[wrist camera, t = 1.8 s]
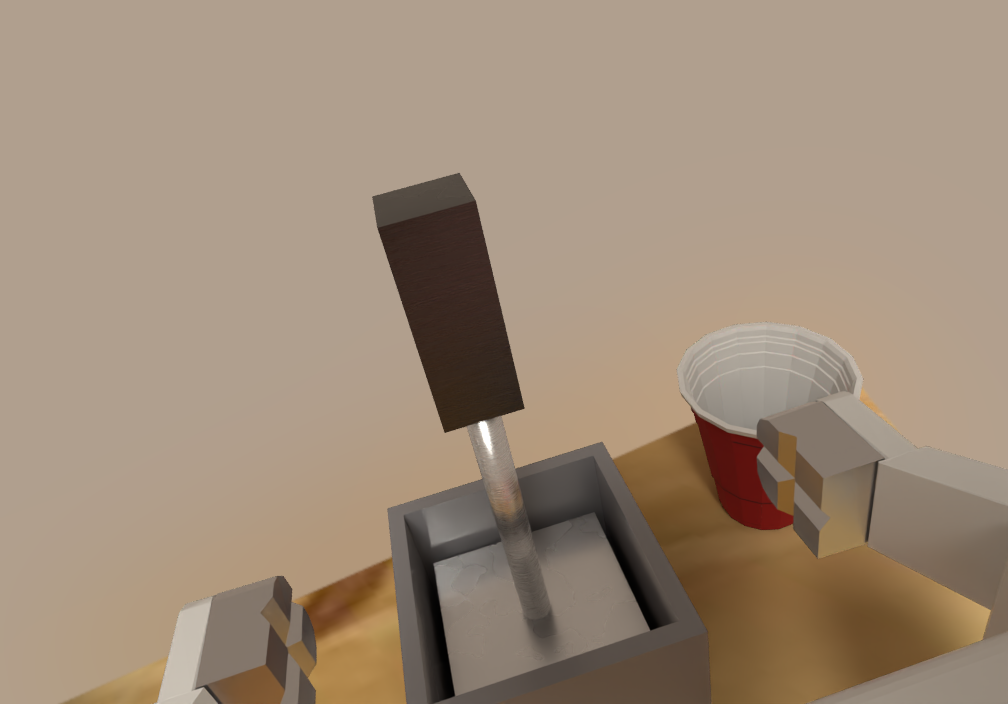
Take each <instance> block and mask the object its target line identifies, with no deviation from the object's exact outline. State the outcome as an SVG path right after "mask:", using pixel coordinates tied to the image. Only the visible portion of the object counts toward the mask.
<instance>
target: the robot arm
mask: <svg viewBox="0 0 1008 704" xmlns="http://www.w3.org/2000/svg"><path fill="white" fill-rule="evenodd" d="M757 438H758V440H759V441H760V442H761V443H762V444H763V445H764V447H763V448H762V450H761V451H760V453H759V454H758V456H757V472H758V475H759V478H760V481H761V484H762V487H763V489H764V491H765V492H766V494H767V496H768V498H769V499H770V500H771V502H772V503H773V504H774V506H775V507H776V508H777V509H778V510H780V511H783V512H785V513H787V514H790V515H792V516H794V518H793V529H794V530H795V532H796V533H797V534H798V535H799V537H800V538H801V539H802V540H803V541H804V543H805V544H806V545H807V546H808V548H809V549H810V550H811V551H812V552H813V554H814V555H815V556H816V557H817V559H820V558H823V557H826V556H830V555H833V554H836V553H839V552H842V551H846V550H849V549H852V548H855V547H858V546H862V545H865V544H868V547H870V548H872V549H874V550H875V551H877V552H879V553H881V554H883V555H885V556H887V557H889V558H891V559H893V560H895V561H897V562H899V563H901V564H903V565H905V566H906V567H908V568H910V569H912V570H914V571H916V572H918V573H920V574H922V575H924V576H926V577H928V578H930V579H932V580H934V581H936V582H937V583H939V584H941V585H943V586H945V587H947V588H949V589H951V590H953V591H955V592H957V593H959V594H961V595H963V596H965V597H966V598H968V599H970V600H972V601H974V602H976V603H978V604H980V605H982V606H984V607H986V608H988V609H990V610H991V612H990V616H989V619H988V622H987V625H986V629H985V632H984V636H983V640H981V641H979V642H976V643H973V644H970V645H968V646H965V647H962V648H959V649H956V650H954V651H951V652H948V653H945V654H942V655H940V656H937V657H934V658H931V659H929V660H926V661H923V662H920V663H917V664H915V665H912V666H909V667H906V668H903V669H901V670H898V671H895V672H892V673H890V674H887V675H884V676H881V677H878V678H876V679H873V680H870V681H867V682H864V683H862V684H859V685H856V686H853V687H851V688H848V689H845V690H842V691H839V692H837V693H834V694H831V695H828V696H825V697H823V698H820V699H817V700H814V701H811V702H809V703H806V704H1008V470H1007V469H1004V468H1000V467H997V466H993V465H990V464H987V463H983V462H980V461H977V460H973V459H970V458H966V457H962V456H959V455H956V454H952V453H949V452H946V451H942V450H939V449H935V448H932V447H929V446H925V447H921V448H917V447H916V446H915V445H913V444H912V443H911V442H910V441H908V440H907V439H906V438H905V437H904V436H902V435H901V434H900V433H899V432H898V431H896V430H895V429H894V428H893V427H891V426H890V425H889V424H888V423H887V422H885V421H884V420H883V419H882V418H881V417H879V416H878V415H877V414H876V413H874V412H873V411H872V410H871V409H870V408H868V407H867V406H866V405H865V404H864V403H862V402H861V401H860V400H859V399H858V398H856V397H855V396H854V395H853V394H851V393H849V392H846V391H841V392H838V393H835V394H832V395H830V396H827V397H824V398H821V399H818V400H815V401H814V402H809V403H806V404H803V405H800V406H797V407H794V408H791V409H788V410H785V411H782V412H779V413H776V414H773V415H770V416H767V417H764V418H761V419H759V422H758V424H757ZM291 600H292V588H291V586H290V585H289V584H288V582H287V581H286V579H285V578H284V576H275V577H272V578H269V579H265V580H262V581H259V582H255V583H252V584H249V585H245V586H242V587H239V588H236V589H232V590H229V591H225V592H222V593H219V594H217V595H214V596H211V597H207V598H204V599H201V600H197V601H194V602H191V603H187V604H185V606H184V607H183V608H182V610H181V611H180V613H179V615H178V619H177V623H176V627H175V631H174V635H173V640H172V644H171V648H170V652H169V656H168V660H167V664H166V668H165V672H164V676H163V680H162V684H161V688H160V693H159V697H158V701H157V703H154V704H315V695H316V690H315V689H314V687H313V686H312V684H311V683H310V681H309V680H308V677H309V675H310V674H311V672H312V670H313V669H314V667H315V666H316V649H317V647H316V641H315V635H314V629H313V626H312V624H311V621H310V618H309V616H308V614H307V612H306V611H305V609H304V607H303V606H301V605H298V604H296V603H293V602H291Z"/></svg>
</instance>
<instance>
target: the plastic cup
mask: <svg viewBox="0 0 1008 704" xmlns="http://www.w3.org/2000/svg"><path fill="white" fill-rule="evenodd" d="M677 375H678V382H679V389H680V393H681V395H682V396H683V398H684V399H685V400H686V402H687V403H688V404H689V405H690V406H691V410H692V412H693V413H694V416H695V420H696V423H697V424H698V426H699V430H700V434H701V437H702V441H703V445H704V448H705V452H706V456H707V459H708V463H709V467H710V471H711V474H712V477H713V478H714V480H715V484H716V488H717V492H718V496H719V500H720V502H721V503H722V505H723V508H724V509H725V510H726V511H727V513H728V514H729V515H730V517H731V518H733V519H735V520H736V521H738V522H739V523H741V524H743V525H744V526H748V527H752V528H756V529H760V530H771V529H780V528H783V527H786V526H788V525H791V524H793V518H794V516H792V515H790V514H787V513H785V512H783V511H780V510H778V509H777V508H776V507H775V506H774V504H773V503H772V502H771V500H770V499H769V498H768V496H767V494H766V492H765V491H764V489H763V487H762V484H761V481H760V478H759V475H758V472H757V456H758V454H759V453H760V451H761V450H762V448H763V447H764V445H763V444H762V443H761V442H760V441H759V440H758V438H757V424H758V422H759V419H761V418H764V417H767V416H770V415H773V414H776V413H779V412H782V411H785V410H788V409H791V408H794V407H797V406H800V405H803V404H806V403H809V402H814V401H815V400H818V399H821V398H824V397H827V396H830V395H832V394H835V393H838V392H841V391H846V392H849V393H851V394H853V395H854V396H855V397H856V398H858V399H860V394H861V388H862V383H863V377H862V375H861V373H860V371H859V368H858V366H857V364H856V362H855V360H854V358H853V356H852V355H851V354H849V353H848V352H847V351H846V350H844V349H843V348H842V347H841V346H839V345H838V344H837V343H836V342H834V341H833V340H832V339H831V338H829V337H826V336H823V335H821V334H818V333H816V332H813V331H811V330H808V329H805V328H803V327H800V326H794V325H786V324H778V323H772V322H760V323H748V324H736V325H732V326H729V327H726V328H723V329H720V330H718V331H715V332H712V333H709V334H706V335H705V336H704V337H702V338H701V339H700V340H698V341H697V342H696V343H694V344H693V345H692V346H691V347H689V348H688V349H687V350H686V352H685V354H684V356H683V358H682V360H681V362H680V364H679V366H678V368H677Z"/></svg>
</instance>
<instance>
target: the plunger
mask: <svg viewBox="0 0 1008 704" xmlns="http://www.w3.org/2000/svg"><path fill="white" fill-rule="evenodd" d="M372 198H373V203H374V210H375V215H376V222H377V228H378V231H379V234H380V237H381V240H382V243H383V246H384V249H385V252H386V255H387V258H388V261H389V264H390V268H391V270H392V274H393V277H394V280H395V283H396V286H397V289H398V292H399V295H400V298H401V301H402V304H403V307H404V310H405V313H406V316H407V319H408V322H409V325H410V328H411V331H412V335H413V337H414V341H415V344H416V347H417V350H418V353H419V356H420V359H421V362H422V365H423V368H424V371H425V374H426V377H427V380H428V383H429V386H430V389H431V392H432V395H433V398H434V401H435V404H436V408H437V411H438V414H439V417H440V420H441V423H442V426H443V429H444V432H445V433H446V432H449V431H452V430H456V429H459V428H462V427H465V426H467V429H468V432H469V436H470V439H471V442H472V445H473V449H474V452H475V455H476V459H477V462H478V465H479V469H480V472H481V475H482V479H483V482H484V485H485V489H486V492H487V495H488V498H489V502H490V505H491V508H492V512H493V515H494V518H495V522H496V525H497V528H498V531H499V535H500V538H501V541H502V542H499V543H496V544H493V545H490V546H486V547H483V548H480V549H477V550H474V551H471V552H468V553H465V554H461V555H458V556H455V557H452V558H449V559H446V560H443V561H440V562H436V563H433V564H434V570H435V576H436V582H437V588H438V594H439V600H440V607H441V613H442V619H443V625H444V631H445V637H446V643H447V649H448V655H449V661H450V667H451V673H452V679H453V685H454V691H455V696H458V695H461V694H464V693H467V692H470V691H473V690H476V689H479V688H482V687H485V686H488V685H490V684H493V683H496V682H499V681H502V680H505V679H508V678H511V677H514V676H517V675H520V674H523V673H526V672H529V671H532V670H535V669H538V668H541V667H544V666H547V665H550V664H553V663H556V662H559V661H562V660H565V659H568V658H571V657H574V656H577V655H580V654H583V653H586V652H588V651H591V650H594V649H597V648H600V647H603V646H606V645H609V644H612V643H615V642H618V641H621V640H624V639H627V638H630V637H633V636H636V635H639V634H642V633H645V632H648V631H650V629H649V627H648V625H647V623H646V621H645V619H644V616H643V614H642V612H641V610H640V608H639V606H638V604H637V602H636V599H635V597H634V595H633V593H632V591H631V589H630V587H629V585H628V582H627V580H626V578H625V576H624V574H623V572H622V570H621V568H620V565H619V563H618V561H617V559H616V557H615V555H614V553H613V551H612V548H611V546H610V544H609V542H608V540H607V538H606V536H605V534H604V531H603V529H602V527H601V525H600V523H599V521H598V519H597V517H596V514H595V512H593V513H590V514H587V515H583V516H580V517H577V518H574V519H571V520H568V521H565V522H562V523H558V524H555V525H552V526H549V527H546V528H543V529H540V530H536V531H533V532H531V528H530V524H529V520H528V516H527V513H526V509H525V505H524V501H523V497H522V493H521V490H520V486H519V482H518V478H517V474H516V471H515V467H514V463H513V459H512V455H511V452H510V448H509V444H508V440H507V436H506V432H505V429H504V425H503V421H502V417H501V416H502V415H505V414H508V413H512V412H515V411H518V410H522V409H524V404H523V401H522V396H521V391H520V387H519V383H518V379H517V375H516V370H515V366H514V362H513V358H512V353H511V349H510V345H509V341H508V336H507V332H506V328H505V323H504V319H503V315H502V311H501V306H500V302H499V298H498V294H497V289H496V285H495V281H494V277H493V272H492V268H491V264H490V260H489V255H488V251H487V247H486V243H485V238H484V234H483V230H482V226H481V221H480V217H479V213H478V209H477V204H476V200H475V199H474V197H473V195H472V194H471V192H470V190H469V189H468V187H467V185H466V183H465V182H464V180H463V178H462V176H461V175H460V173H458V174H454V175H450V176H446V177H443V178H439V179H436V180H432V181H428V182H424V183H421V184H417V185H414V186H409V187H406V188H402V189H399V190H395V191H391V192H388V193H384V194H381V195H377V196H373V197H372Z"/></svg>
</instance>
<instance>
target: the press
mask: <svg viewBox="0 0 1008 704" xmlns="http://www.w3.org/2000/svg"><path fill="white" fill-rule="evenodd" d="M515 471H516V474H517V478H518V482H519V486H520V490H521V493H522V497H523V501H524V505H525V509H526V513H527V516H528V520H529V524H530V528H531V532H533V531H536V530H540V529H543V528H546V527H549V526H552V525H555V524H558V523H562V522H565V521H568V520H571V519H574V518H577V517H580V516H583V515H587V514H590V513H593V512H595V514H596V517H597V519H598V521H599V523H600V525H601V527H602V529H603V531H604V534H605V536H606V538H607V540H608V542H609V544H610V546H611V548H612V551H613V553H614V555H615V557H616V559H617V561H618V563H619V565H620V568H621V570H622V572H623V574H624V576H625V578H626V580H627V582H628V585H629V587H630V589H631V591H632V593H633V595H634V597H635V599H636V602H637V604H638V606H639V608H640V610H641V612H642V614H643V616H644V619H645V621H646V623H647V625H648V627H649V629H650V631H648V632H645V633H642V634H639V635H636V636H633V637H630V638H627V639H624V640H621V641H618V642H615V643H612V644H609V645H606V646H603V647H600V648H597V649H594V650H591V651H588V652H586V653H583V654H580V655H577V656H574V657H571V658H568V659H565V660H562V661H559V662H556V663H553V664H550V665H547V666H544V667H541V668H538V669H535V670H532V671H529V672H526V673H523V674H520V675H517V676H514V677H511V678H508V679H505V680H502V681H499V682H496V683H493V684H490V685H488V686H485V687H482V688H479V689H476V690H473V691H470V692H467V693H464V694H461V695H458V696H455V691H454V685H453V679H452V673H451V667H450V661H449V655H448V649H447V643H446V637H445V631H444V625H443V619H442V613H441V607H440V600H439V594H438V588H437V582H436V576H435V570H434V564H433V563H436V562H440V561H443V560H446V559H449V558H452V557H455V556H458V555H461V554H465V553H468V552H471V551H474V550H477V549H480V548H483V547H486V546H490V545H493V544H496V543H499V542H502V541H501V538H500V535H499V531H498V528H497V525H496V522H495V518H494V515H493V512H492V508H491V505H490V502H489V498H488V495H487V492H486V489H485V485H484V482H483V479H481V480H478V481H475V482H471V483H468V484H465V485H462V486H459V487H455V488H452V489H449V490H446V491H442V492H439V493H436V494H433V495H430V496H426V497H423V498H420V499H417V500H414V501H410V502H407V503H404V504H401V505H398V506H394V507H391V508H388V519H389V529H390V539H391V549H392V559H393V569H394V580H395V590H396V600H397V610H398V620H399V630H400V641H401V651H402V661H403V671H404V681H405V692H406V702H407V704H711V685H710V666H709V647H708V631H707V630H706V628H705V626H704V624H703V622H702V620H701V619H700V617H699V615H698V613H697V611H696V610H695V608H694V606H693V604H692V602H691V601H690V599H689V597H688V595H687V593H686V592H685V590H684V588H683V586H682V584H681V583H680V581H679V579H678V577H677V575H676V574H675V572H674V570H673V568H672V566H671V565H670V563H669V561H668V559H667V557H666V556H665V554H664V552H663V550H662V548H661V547H660V545H659V543H658V541H657V539H656V538H655V536H654V534H653V532H652V530H651V529H650V527H649V525H648V523H647V521H646V520H645V518H644V516H643V514H642V512H641V511H640V509H639V507H638V505H637V503H636V502H635V500H634V498H633V496H632V494H631V493H630V491H629V489H628V487H627V485H626V484H625V482H624V480H623V478H622V476H621V475H620V473H619V471H618V469H617V467H616V466H615V464H614V462H613V460H612V458H611V457H610V455H609V453H608V451H607V449H606V448H605V446H604V444H603V442H600V443H597V444H593V445H590V446H587V447H584V448H581V449H577V450H574V451H571V452H568V453H565V454H562V455H558V456H555V457H552V458H548V459H545V460H542V461H539V462H536V463H532V464H529V465H526V466H523V467H520V468H517V469H515Z"/></svg>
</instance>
